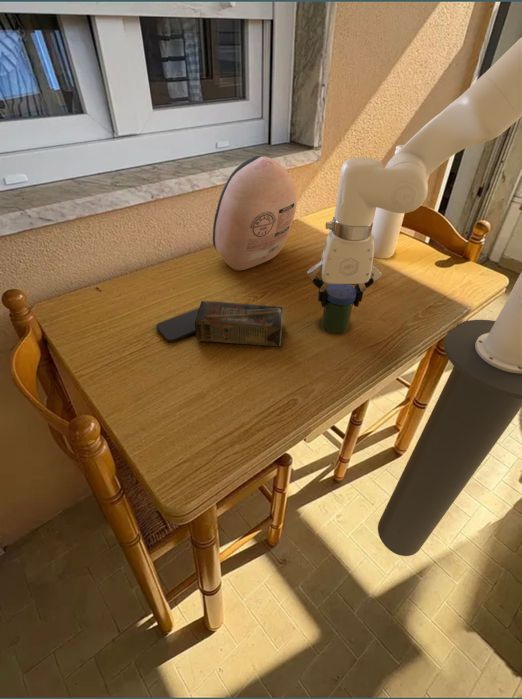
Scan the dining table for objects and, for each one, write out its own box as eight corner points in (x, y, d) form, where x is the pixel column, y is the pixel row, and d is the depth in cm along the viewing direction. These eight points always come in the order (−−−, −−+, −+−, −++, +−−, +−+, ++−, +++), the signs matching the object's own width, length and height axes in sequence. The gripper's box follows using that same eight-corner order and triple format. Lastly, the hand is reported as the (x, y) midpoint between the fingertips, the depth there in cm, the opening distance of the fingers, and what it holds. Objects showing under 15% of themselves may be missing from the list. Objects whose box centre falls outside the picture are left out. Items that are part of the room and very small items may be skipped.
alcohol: (360, 247, 121) (381, 143, 101) (386, 245, 123) (411, 141, 103) (371, 260, 115) (395, 151, 95) (398, 258, 116) (428, 150, 96)
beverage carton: (281, 348, 84) (282, 325, 79) (195, 343, 85) (192, 319, 80) (282, 326, 90) (283, 303, 85) (201, 321, 91) (199, 298, 86)
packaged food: (262, 241, 123) (264, 138, 104) (304, 265, 112) (315, 154, 92) (205, 261, 113) (195, 151, 93) (245, 290, 102) (243, 171, 82)
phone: (226, 318, 91) (168, 341, 84) (226, 320, 91) (169, 344, 84) (210, 303, 95) (154, 324, 88) (210, 306, 96) (155, 327, 89)
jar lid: (357, 291, 87) (359, 285, 86) (353, 307, 82) (354, 301, 81) (327, 285, 88) (328, 279, 87) (321, 301, 83) (322, 295, 82)
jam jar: (352, 322, 91) (359, 291, 85) (342, 337, 87) (348, 305, 81) (327, 314, 94) (332, 283, 88) (316, 327, 90) (321, 296, 84)
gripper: (310, 236, 72) (302, 313, 83) (401, 236, 72) (380, 313, 84) (305, 220, 77) (299, 294, 89) (390, 220, 78) (372, 294, 89)
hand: (338, 302), depth 86 cm, fingers closed on jar lid, 6 cm apart
